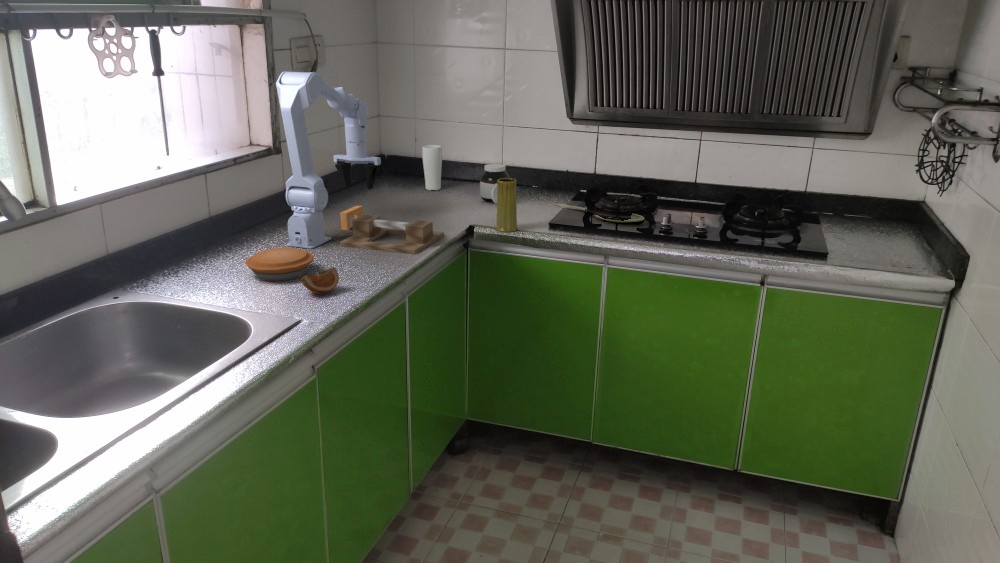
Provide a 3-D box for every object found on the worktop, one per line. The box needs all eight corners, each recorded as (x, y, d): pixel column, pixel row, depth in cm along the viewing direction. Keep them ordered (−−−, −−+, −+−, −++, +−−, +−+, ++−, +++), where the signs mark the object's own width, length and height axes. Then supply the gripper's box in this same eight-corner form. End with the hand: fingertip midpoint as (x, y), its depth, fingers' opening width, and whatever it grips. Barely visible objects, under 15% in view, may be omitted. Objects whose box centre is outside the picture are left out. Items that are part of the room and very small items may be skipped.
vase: (521, 229, 210) (522, 179, 205) (507, 233, 206) (507, 183, 201) (506, 225, 214) (506, 176, 209) (491, 229, 210) (491, 180, 205)
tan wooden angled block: (347, 230, 209) (346, 213, 208) (341, 229, 210) (340, 212, 208) (363, 222, 217) (362, 206, 216) (357, 222, 218) (356, 205, 216)
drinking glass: (421, 191, 257) (419, 147, 252) (426, 186, 263) (424, 144, 258) (440, 191, 256) (439, 148, 251) (444, 187, 262) (443, 145, 257)
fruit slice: (311, 301, 157) (309, 279, 156) (295, 293, 162) (293, 272, 160) (345, 291, 163) (343, 270, 161) (328, 284, 167) (326, 263, 166)
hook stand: (444, 235, 204) (443, 216, 202) (414, 254, 188) (413, 233, 186) (374, 228, 211) (372, 209, 210) (340, 245, 196) (338, 225, 194)
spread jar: (494, 196, 249) (494, 162, 245) (522, 201, 243) (522, 165, 239) (472, 203, 240) (472, 167, 236) (501, 208, 234) (501, 171, 230)
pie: (282, 259, 185) (280, 240, 183) (328, 269, 177) (327, 249, 176) (232, 277, 172) (230, 257, 171) (280, 289, 165) (278, 267, 163)
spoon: (544, 212, 236) (544, 206, 235) (568, 207, 242) (568, 201, 241) (628, 228, 210) (629, 221, 209) (653, 222, 216) (653, 215, 215)
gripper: (384, 140, 214) (387, 186, 218) (341, 138, 219) (344, 183, 223) (372, 144, 208) (375, 191, 212) (328, 141, 212) (331, 187, 217)
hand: (358, 187), depth 217 cm, fingers open, 7 cm apart
